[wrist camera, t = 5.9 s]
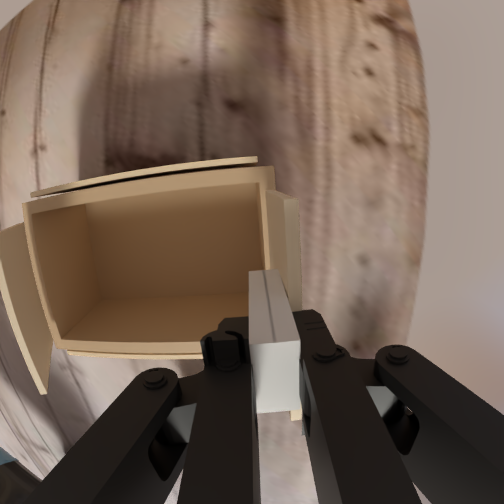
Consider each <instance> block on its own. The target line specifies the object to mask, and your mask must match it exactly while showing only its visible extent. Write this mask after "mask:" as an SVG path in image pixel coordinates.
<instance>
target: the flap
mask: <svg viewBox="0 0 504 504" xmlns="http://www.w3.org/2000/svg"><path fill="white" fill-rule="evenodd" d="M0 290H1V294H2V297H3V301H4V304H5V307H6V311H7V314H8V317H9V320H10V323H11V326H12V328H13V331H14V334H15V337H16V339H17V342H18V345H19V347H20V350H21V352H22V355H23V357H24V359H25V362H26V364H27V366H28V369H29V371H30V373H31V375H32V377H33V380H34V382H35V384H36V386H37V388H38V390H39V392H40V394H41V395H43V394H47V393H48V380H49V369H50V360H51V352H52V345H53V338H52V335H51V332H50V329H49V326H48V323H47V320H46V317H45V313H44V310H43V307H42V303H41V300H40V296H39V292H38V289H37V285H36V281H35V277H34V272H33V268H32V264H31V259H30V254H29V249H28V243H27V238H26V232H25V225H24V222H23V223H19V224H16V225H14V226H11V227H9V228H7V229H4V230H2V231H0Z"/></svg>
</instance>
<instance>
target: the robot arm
mask: <svg viewBox="0 0 504 504" xmlns="http://www.w3.org/2000/svg"><path fill="white" fill-rule="evenodd" d="M200 345H201V350H202V355H203V360H204V365H205V366H204V370H203V371H202V372H200V373H198V374H195V375H192V376H188V377H183V378H178V376H177V374H176V373H175V372H174V371H173V370H170V369H167V368H152V369H148V370H146V371H144V372H141V373H140V374H139V375H138V376H136V377H135V378H134V380H133V381H132V382H131V383H130V384H129V385H128V386H127V387H126V388H125V389H124V391H123V392H122V393H121V394H120V395H119V396H118V397H117V398H116V399H115V401H114V402H113V403H112V404H111V405H110V406H109V407H108V408H107V409H106V411H105V412H104V413H103V414H102V415H101V416H100V417H99V418H98V419H97V421H96V422H95V423H94V424H93V425H92V426H91V427H90V428H89V429H88V431H87V432H86V433H85V434H84V435H83V436H82V437H81V438H80V439H79V441H78V442H77V443H76V444H75V445H74V446H73V447H72V448H71V449H70V451H69V452H68V453H67V454H66V455H65V456H64V457H63V458H62V459H61V461H60V462H59V463H58V464H57V465H56V466H55V467H54V468H53V469H52V471H51V472H50V473H49V474H48V475H47V476H46V477H45V478H44V479H43V481H42V480H41V479H40V478H38V477H37V476H36V475H34V474H33V473H32V472H31V471H29V470H28V469H27V468H26V467H25V466H23V465H22V464H21V463H20V462H19V461H18V460H17V459H16V458H14V457H12V456H11V455H10V454H9V453H8V452H6V451H5V450H4V449H3V448H1V447H0V504H164V503H165V501H166V499H167V497H168V495H169V494H170V492H171V490H172V488H173V486H174V484H175V482H176V481H177V479H178V477H179V475H180V473H181V471H182V469H183V468H184V469H183V474H182V479H181V484H180V490H179V495H178V501H177V504H261V494H260V467H259V440H258V421H257V413H268V412H281V411H290V410H299V409H300V401H301V406H302V410H303V417H302V435H305V436H306V441H307V446H308V451H309V456H310V461H311V466H312V471H313V476H314V481H315V486H316V491H317V496H318V502H319V504H422V503H421V500H420V498H419V496H418V494H417V491H416V489H415V487H414V485H413V483H414V484H415V485H416V486H417V487H418V489H419V490H420V491H421V492H422V493H423V494H424V495H425V497H426V498H427V499H428V500H429V501H430V502H431V503H432V504H504V415H502V414H501V413H500V412H499V411H497V410H496V409H495V408H493V407H492V406H491V405H489V404H488V403H486V402H485V401H484V400H483V399H481V398H480V397H478V396H477V395H476V394H474V393H473V392H472V391H470V390H469V389H467V388H466V387H465V386H464V385H462V384H461V383H459V382H458V381H457V380H455V379H454V378H453V377H451V376H450V375H448V374H447V373H446V372H444V371H443V370H442V369H440V368H439V367H437V366H436V365H435V364H433V363H432V362H431V361H429V360H428V359H426V358H425V357H424V356H422V355H421V354H419V353H418V352H417V351H415V350H414V349H412V348H410V347H408V346H403V345H389V346H385V347H383V348H381V349H380V350H378V352H377V353H376V357H375V359H357V358H352V357H351V356H350V355H349V353H348V351H347V350H346V349H345V348H344V347H342V346H339V345H337V344H335V342H334V340H333V338H332V336H331V334H330V332H329V330H328V328H327V326H326V324H325V322H324V320H323V318H322V316H321V314H319V313H318V312H316V311H315V310H313V309H311V310H302V311H295V312H292V311H291V308H290V305H289V301H288V298H287V295H286V292H285V289H284V285H283V282H282V279H281V276H280V273H279V271H278V269H270V270H257V271H249V316H244V317H230V318H224V319H223V320H222V321H221V322H220V323H219V324H218V329H217V330H215V331H212V332H209V333H208V334H206V335H205V336H203V337H202V339H201V340H200ZM407 407H408V408H409V409H410V410H411V411H412V412H411V411H410V410H409V409H408V408H407ZM412 482H413V483H412Z"/></svg>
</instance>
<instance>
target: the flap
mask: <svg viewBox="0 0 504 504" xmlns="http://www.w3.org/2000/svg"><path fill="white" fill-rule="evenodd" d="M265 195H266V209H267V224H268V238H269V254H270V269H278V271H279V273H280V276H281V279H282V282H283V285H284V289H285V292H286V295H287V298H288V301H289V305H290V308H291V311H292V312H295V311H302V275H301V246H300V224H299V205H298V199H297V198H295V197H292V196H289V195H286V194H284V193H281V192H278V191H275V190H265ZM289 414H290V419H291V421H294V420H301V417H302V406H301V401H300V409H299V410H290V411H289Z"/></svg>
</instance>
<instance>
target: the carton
mask: <svg viewBox="0 0 504 504" xmlns="http://www.w3.org/2000/svg"><path fill="white" fill-rule="evenodd" d="M257 163H258V159H257V156H251V157H238V158H227V159H217V160H207V161H198V162H190V163H182V164H174V165H167V166H160V167H153V168H147V169H140V170H134V171H128V172H123V173H117V174H112V175H106V176H101V177H96V178H91V179H86V180H82V181H77V182H72V183H68V184H64V185H59V186H55V187H51V188H47V189H43V190H39V191H35V192H31V193H30V194H31V198H32V197H38V196H44V195H51V194H58V193H65V192H70V193H65V194H60V195H56V196H51V197H47V198H43V199H39V200H34V201H30V202H26V203H22V208H23V216H24V223H25V230H26V236H27V241H28V247H29V252H30V257H31V262H32V266H33V271H34V275H35V279H36V283H37V287H38V291H39V295H40V298H41V302H42V305H43V309H44V312H45V315H46V319H47V322H48V325H49V328H50V331H51V334H52V337H53V340H54V342H55V345H56V348H57V349H68V350H67V353H68V355H77V356H90V357H105V358H126V359H203V355H202V350H201V345H200V340H201V339H202V337H203V336H205V335H206V334H208V333H209V332H212V331H215V330H217V329H218V324H219V323H220V322H221V321H222V320H223V319H224V318H230V317H244V316H249V271H257V270H270V254H269V238H268V224H267V209H266V195H265V190H275V191H276V187H275V173H274V166H260V167H250V166H255V165H256V164H257ZM237 167H247V168H237ZM226 168H234V169H226ZM216 169H223V170H216ZM206 170H213V171H206ZM197 171H204V172H197ZM188 172H195V173H188ZM180 173H186V174H180ZM172 174H178V175H172ZM165 175H170V176H165ZM157 176H163V177H157ZM150 177H155V178H150ZM144 178H149V179H144ZM137 179H142V180H137ZM131 180H135V181H131ZM125 181H129V182H125ZM119 182H123V183H119ZM113 183H117V184H113ZM107 184H111V185H107ZM102 185H106V186H102ZM97 186H100V187H97ZM91 187H95V188H91ZM86 188H90V189H86ZM81 189H84V190H81ZM76 190H79V191H76ZM71 191H75V192H71Z"/></svg>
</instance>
